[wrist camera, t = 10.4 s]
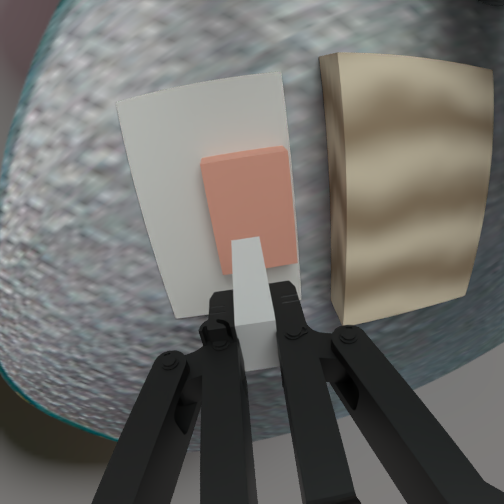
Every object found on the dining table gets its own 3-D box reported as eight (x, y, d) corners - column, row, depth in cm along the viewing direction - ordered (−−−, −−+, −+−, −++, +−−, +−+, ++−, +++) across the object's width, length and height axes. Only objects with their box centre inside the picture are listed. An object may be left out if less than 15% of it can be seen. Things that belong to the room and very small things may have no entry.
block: (288, 151, 21) (282, 145, 23) (199, 164, 21) (201, 158, 23) (297, 262, 26) (292, 250, 27) (222, 275, 26) (222, 262, 27)
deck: (318, 56, 20) (337, 52, 16) (463, 67, 20) (492, 70, 17) (330, 300, 31) (342, 327, 27) (446, 274, 31) (465, 295, 28)
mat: (117, 101, 20) (115, 102, 20) (280, 71, 20) (281, 71, 20) (176, 316, 30) (176, 318, 30) (300, 297, 30) (301, 299, 30)
